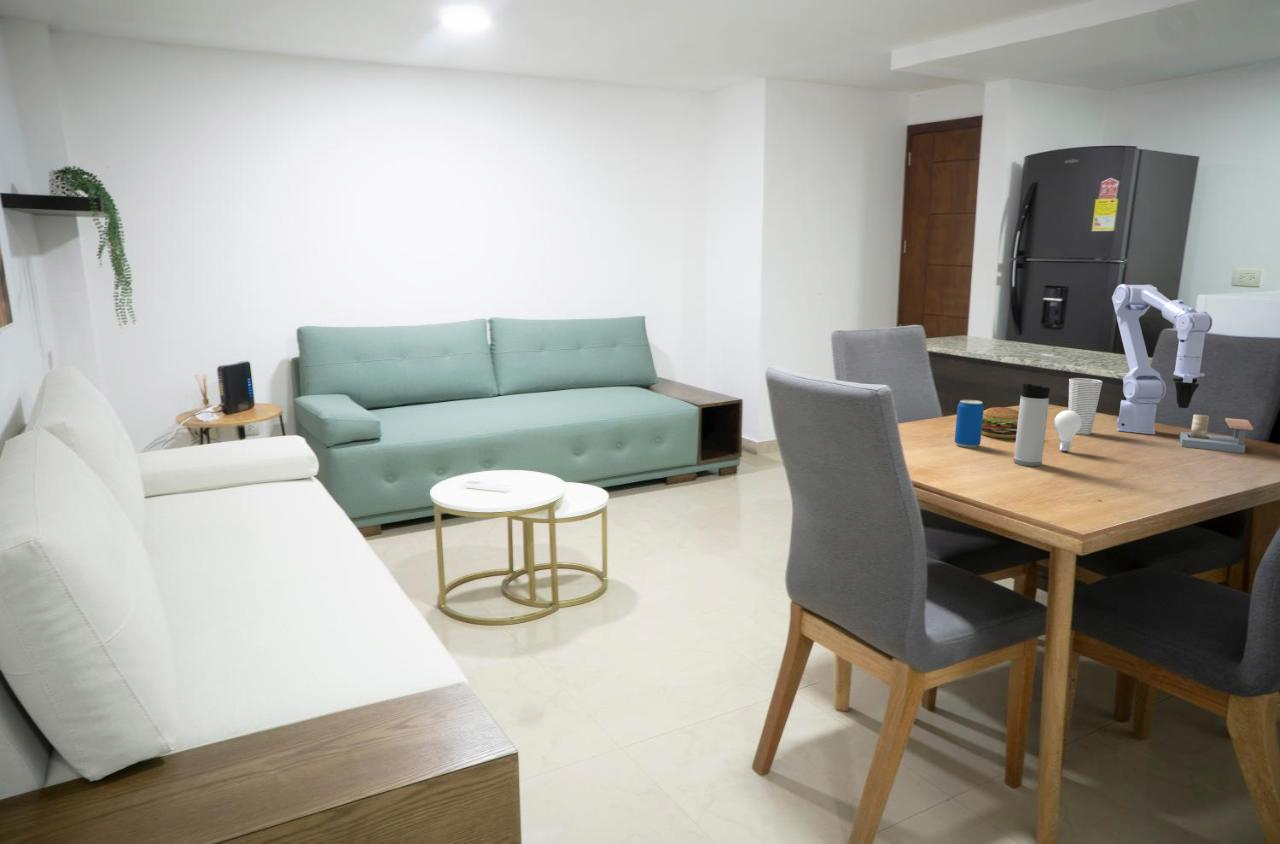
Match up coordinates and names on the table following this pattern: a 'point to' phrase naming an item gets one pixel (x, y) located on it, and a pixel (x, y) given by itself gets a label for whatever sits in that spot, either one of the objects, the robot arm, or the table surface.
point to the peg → (1199, 426)
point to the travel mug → (1031, 425)
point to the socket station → (1220, 438)
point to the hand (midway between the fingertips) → (1182, 405)
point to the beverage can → (969, 423)
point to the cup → (1084, 401)
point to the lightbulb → (1067, 428)
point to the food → (1000, 423)
